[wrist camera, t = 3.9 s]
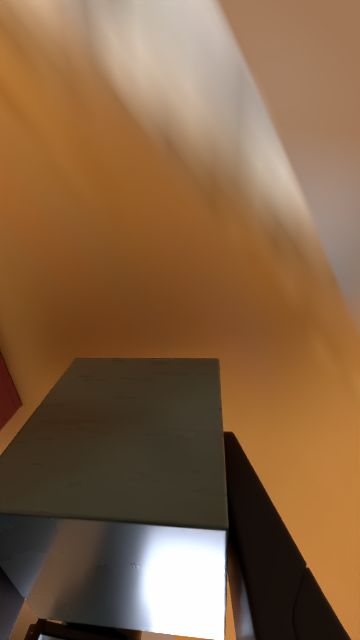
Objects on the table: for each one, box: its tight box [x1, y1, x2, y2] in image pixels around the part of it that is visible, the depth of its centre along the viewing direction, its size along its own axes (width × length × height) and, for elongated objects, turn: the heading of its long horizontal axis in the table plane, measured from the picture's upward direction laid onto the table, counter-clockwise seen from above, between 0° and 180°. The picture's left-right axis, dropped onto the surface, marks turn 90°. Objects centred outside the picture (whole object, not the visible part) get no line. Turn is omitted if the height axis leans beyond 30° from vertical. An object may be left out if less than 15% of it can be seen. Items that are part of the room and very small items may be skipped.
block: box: [0, 358, 229, 640], centre depth 7 cm, size 4×4×4 cm
